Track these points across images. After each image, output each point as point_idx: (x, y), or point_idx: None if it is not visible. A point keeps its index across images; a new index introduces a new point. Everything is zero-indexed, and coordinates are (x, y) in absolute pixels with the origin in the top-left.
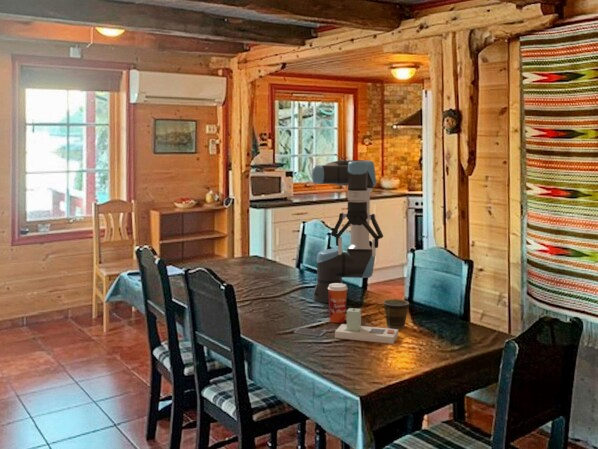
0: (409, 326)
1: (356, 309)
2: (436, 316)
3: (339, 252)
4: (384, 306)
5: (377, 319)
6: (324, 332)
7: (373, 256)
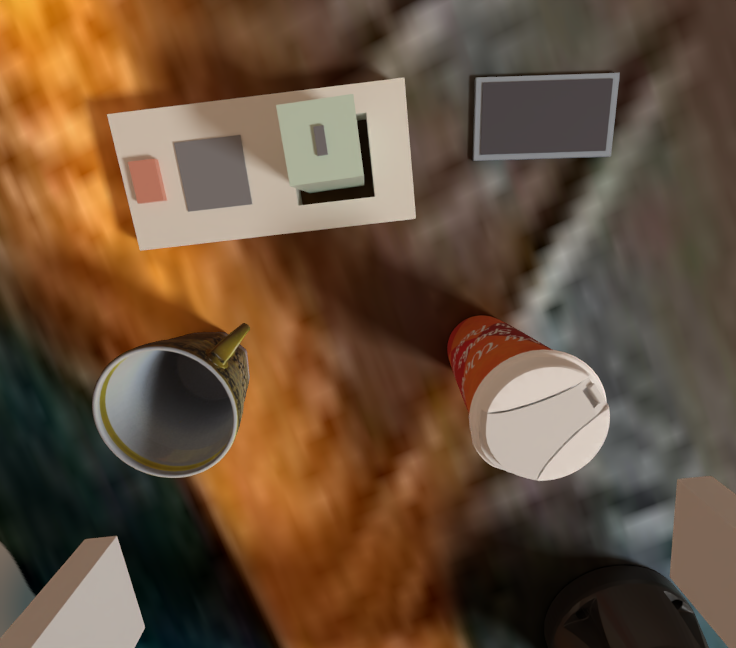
0: None
1: (311, 163)
2: (125, 562)
3: (720, 503)
4: (213, 350)
5: (324, 434)
6: (474, 139)
7: (94, 541)
